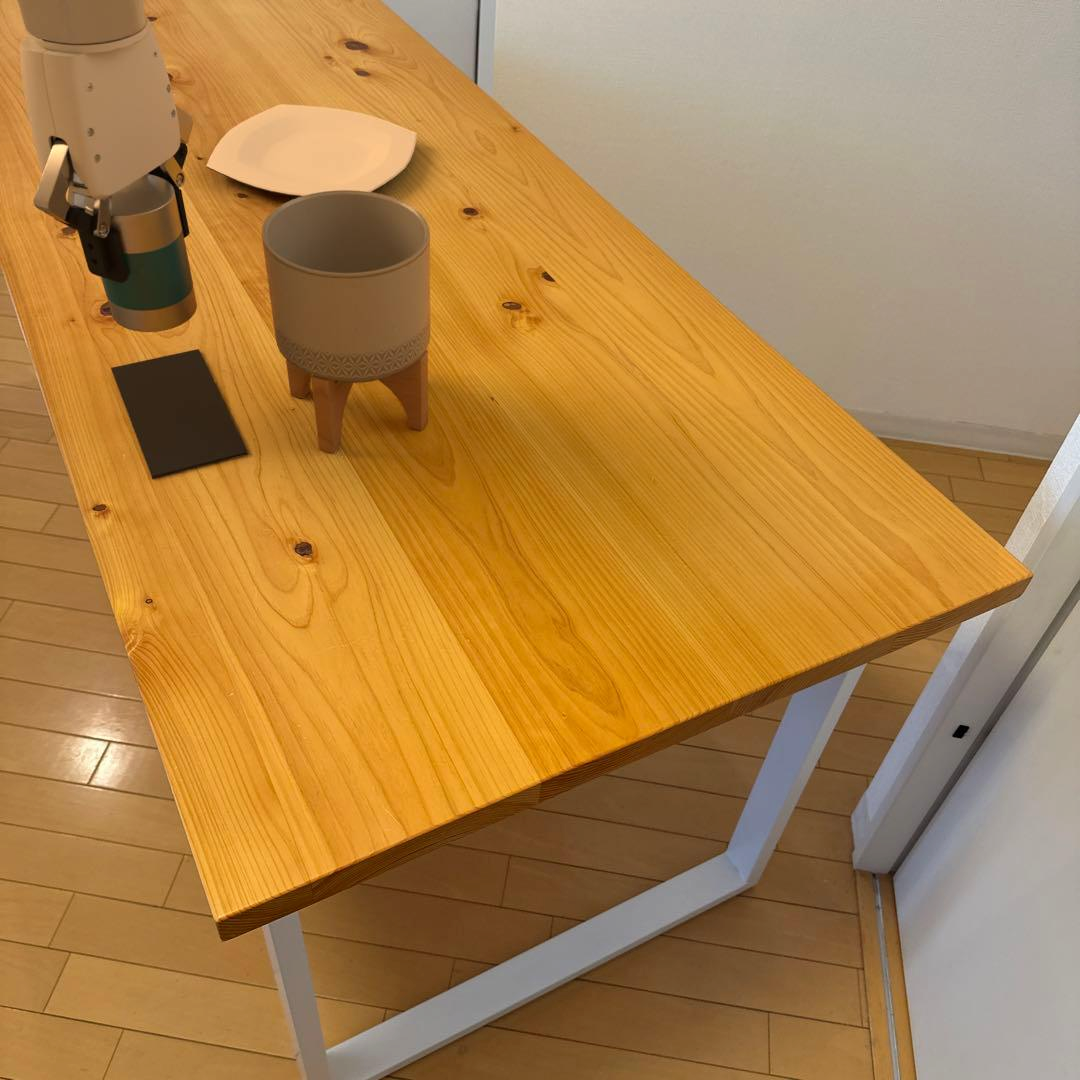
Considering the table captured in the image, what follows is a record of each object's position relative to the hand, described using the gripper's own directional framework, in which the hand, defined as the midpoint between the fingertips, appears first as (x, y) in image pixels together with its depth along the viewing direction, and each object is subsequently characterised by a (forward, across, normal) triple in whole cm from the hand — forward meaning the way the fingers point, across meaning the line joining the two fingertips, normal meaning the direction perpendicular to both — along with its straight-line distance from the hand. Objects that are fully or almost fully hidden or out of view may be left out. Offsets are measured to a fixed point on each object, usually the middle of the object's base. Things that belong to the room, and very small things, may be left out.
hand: (140, 252), depth 78 cm
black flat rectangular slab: (+16, 0, 0) cm, 16 cm away
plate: (+16, -47, -14) cm, 51 cm away
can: (+5, 0, 0) cm, 5 cm away
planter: (+16, -8, +14) cm, 22 cm away
